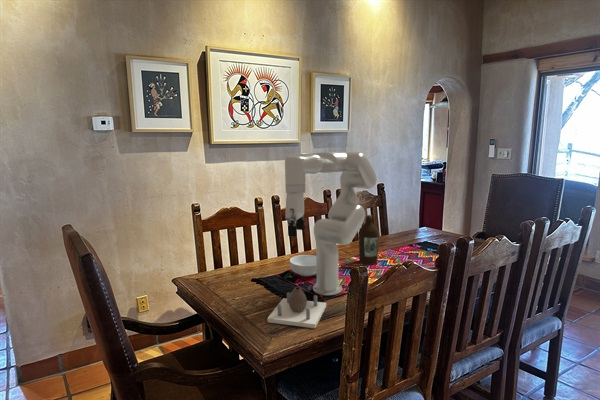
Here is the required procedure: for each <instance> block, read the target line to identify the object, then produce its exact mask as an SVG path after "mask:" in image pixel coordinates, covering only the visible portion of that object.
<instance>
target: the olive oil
mask: <svg viewBox="0 0 600 400" xmlns="http://www.w3.org/2000/svg"><path fill="white" fill-rule="evenodd" d="M379 241H380V231H379V229H378V227H377V226H376V225H375V224H374V223H373V215H371V214H365V223H363V224H362V225H361V227H360V229H359V230H358V249H359V250H358V252H359V253H358V255H359V257H358V258H359V263H360V264H361V265H367V266H368V265H371V266H372V265H376V264H377V263H378V261H379V260H378V259H379V257H378V256H379V254H378V253H379Z"/></svg>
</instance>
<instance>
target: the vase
mask: <svg viewBox="0 0 600 400" xmlns="http://www.w3.org/2000/svg"><path fill="white" fill-rule="evenodd" d="M307 301H308V299H307V296H306V294H305V293H304V291H303V290H302V288H301V287H298V286H296V287H294V288H293V290H292V292H290V296H289V306H290V308H291V310H292V311H294V312H302V311H303V310H304V309H305V307H306V304H307Z"/></svg>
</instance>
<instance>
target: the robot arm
mask: <svg viewBox="0 0 600 400" xmlns="http://www.w3.org/2000/svg"><path fill="white" fill-rule="evenodd" d="M284 172H285V173H284V174H285V175H284V176H285V177H284V178H285V179H284V182H285V183H284V184H285V194H286V197H285V220H287V236H288V237H295V238H296V237H297V235H298V234H297V233H298V232H297V231H304V230H305V224H304V223H305V220H304V219H305V216H304V215H305V197H304V195H305V193H306V174H309V175H314V174H318V173H325V174H326V173H328V174H331V173H339V172H340V173H341V174H340V176H339V178H340V179H339V181H340V193H339V195H338V196H337V199H336V200H335V202H334V203H333V204H332V206H331V207H330V209H329V211H328V213H327V214H328V216H327V217H328V218H321V219H318V220H317V221H315V223H314V225H313V236H314V239H315V249H316V252H315V253H316V254H315V256H316V274H315V275H316V283H315V284H313V286H312V291H313V292H314V293H315V294H317V295H321V296H335V295H338V294H340V293H341V292H342V291H343V287H342V285H341V284H339V255H340V253H339V247H338V245H341V246H344V245H345V246H346V245H349V244H350V243H351V242H353V240H354V238H355V237H356V234H358V233H359V230H360V228H361V227H362V226H363V225H364V221H365V219H366V211H365V209H364V207H363V206H362V205H360V204H358V195H357V193H356V191H355V188H356V189H365V190H367V189H369V190H371V189H372V188H374V186H376V184H377V174H376V171H375V169H374V167H373V166H372V164H371V162H370V160H369V159H368V158H367V156H366V155H365V154H364V153H362V152H355V151H353V152H352V151H334V152H333V151H330V152H329V151H326V152H313V153H312V152H311V153H310V152H309V153H307V152H306V153H304V152H303V153H293V154H290V155H287V156H286V157H285V159H284Z"/></svg>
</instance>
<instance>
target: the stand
mask: <svg viewBox="0 0 600 400" xmlns="http://www.w3.org/2000/svg"><path fill="white" fill-rule="evenodd" d="M290 294H291V292H289V291H288V292H286V298H285V297H283V298H282V299H281V300H280V302H279V303H277V306H276V307H275V308H274V309H273V310H272V312H271V313H270V314H269V316H267V323H273V324H279V325H287V326H295V327H303V328H309V329H310V328H311V329H316V327H317V326H318V324H319V322H320V320H321V318H322V316H323V314H324V312H325V310H326V308H327V302H321V301H318V294H317V295H316V294H314V295H313V300H312V301H311V300H307V304H306V307H305V309H304V310H303V311H302V312H294V311H292V310H291V308H290V306H289V296H290Z"/></svg>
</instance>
